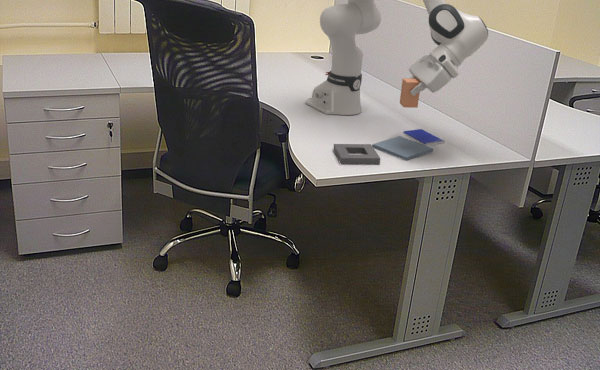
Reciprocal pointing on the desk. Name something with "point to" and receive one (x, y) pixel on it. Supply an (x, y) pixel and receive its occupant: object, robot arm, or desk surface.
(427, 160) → the desk surface
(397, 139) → the slate mat
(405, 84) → the terracotta block
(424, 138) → the hard drive
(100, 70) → the desk surface
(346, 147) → the pocket holder
